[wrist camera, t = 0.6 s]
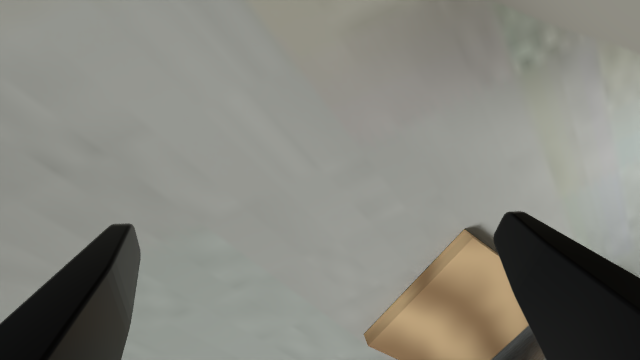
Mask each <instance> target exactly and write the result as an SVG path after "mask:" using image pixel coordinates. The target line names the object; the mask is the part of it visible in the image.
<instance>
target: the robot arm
mask: <svg viewBox="0 0 640 360" xmlns="http://www.w3.org/2000/svg"><path fill="white" fill-rule="evenodd" d="M494 244H495V247H496V249H497V252H498V255H499V257H500V260H501V263H502V265H503V268H504V270H505V273H506V276H507V278H508V281H509V284H510V286H511V289H512V291H513V294H514V296H515V298H516V300H517V302H518V304H519V306H520V308H521V310H522V312H523V314H524V316H525V318H526V320H527V322H528V324H529V326H530V328H531V330H532V332H533V334H534V336H535V338H536V340H537V342H538V344H539V346H540V348H541V350H542V352H543V354H544V356H545V359H546V360H640V278H638V277H637V276H635V275H633V274H631V273H630V272H628V271H626V270H624V269H623V268H621V267H619V266H617V265H616V264H614V263H612V262H611V261H609V260H607V259H605V258H604V257H602V256H600V255H598V254H597V253H595V252H593V251H591V250H590V249H588V248H586V247H584V246H583V245H581V244H579V243H577V242H576V241H574V240H572V239H570V238H569V237H567V236H565V235H563V234H562V233H560V232H558V231H556V230H555V229H553V228H551V227H549V226H548V225H546V224H544V223H542V222H541V221H539V220H537V219H535V218H534V217H532V216H530V215H528V214H527V213H525V212H521V211H516V212H507V213H506V214H504V216H503V218H502V220H501V222H500V224H499V226H498V228H497V230H496V231H495V234H494ZM139 265H140V248H139V244H138V240H137V236H136V232H135V228H134V226H133V225H132V224H113V225H111V226H109V227H108V228H107V229H106V230H104V231H103V232H102V233H101V234H100V235H99V236H98V237H97V238H96V239H94V240H93V241H92V242H91V243H90V244H89V245H88V246H87V247H85V248H84V249H83V250H82V251H81V252H80V253H79V254H78V255H77V256H75V257H74V258H73V259H72V260H71V261H70V262H69V263H68V264H66V265H65V266H64V267H63V268H62V269H61V270H60V271H59V272H57V273H56V274H55V275H54V276H53V277H52V278H51V279H50V280H49V281H47V282H46V283H45V284H44V285H43V286H42V287H41V288H40V289H38V290H37V291H36V292H35V293H34V294H33V295H32V296H31V297H30V298H28V299H27V300H26V301H25V302H24V303H23V304H22V305H21V306H19V307H18V308H17V309H16V310H15V311H14V312H13V313H12V314H11V315H9V316H8V317H7V318H6V319H5V320H4V321H3V322H2V323H0V360H121V358H122V354H123V350H124V347H125V343H126V340H127V336H128V332H129V328H130V324H131V318H132V312H133V305H134V298H135V292H136V285H137V278H138V272H139Z"/></svg>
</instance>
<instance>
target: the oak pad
mask: <svg viewBox="0 0 640 360" xmlns="http://www.w3.org/2000/svg"><path fill="white" fill-rule="evenodd" d="M528 325H529V324H528V322H527V320H526V318H525V316H524V314H523V312H522V310H521V308H520V306H519V304H518V302H517V300H516V298H515V296H514V294H513V291H512V289H511V286H510V284H509V281H508V278H507V276H506V273H505V270H504V268H503V265H502V263H501V260H500V257H499V255H498V253H496V252H495V251H494V250H492V249H491V248H490V247H488V246H487V245H486V244H484V243H483V242H481V241H480V240H479V239H477V238H476V237H475V236H473V235H472V234H471V233H469V232H468V231H467V230H465V229H464V230H463V231H462V232H461V233H460V234H459V235H458V236H457V238H456V239H455V240H454V241H453V242H452V243H451V244H450V245H449V246H448V247H447V248H446V249H445V250H444V251H443V252H442V253H441V254H440V255H439V256H438V257H437V258H436V259H435V260H434V262H433V263H432V264H431V265H430V266H429V267H428V268H427V269H426V270H425V271H424V272H423V273H422V274H421V275H420V276H419V277H418V278H417V279H416V280H415V281H414V282H413V283H412V284H411V286H410V287H409V288H408V289H407V290H406V291H405V292H404V293H403V294H402V295H401V296H400V297H399V298H398V299H397V300H396V301H395V302H394V303H393V304H392V305H391V306H390V307H389V308H388V310H387V311H386V312H385V313H384V314H383V315H382V316H381V317H380V318H379V319H378V320H377V321H376V322H375V323H374V324H373V325H372V326H371V327H370V328H369V329H368V330H367V331H366V333H365V334H364V336H365V339H366V341H367V344H368V346H370V347H372V348H374V349H376V350H378V351H381V352H383V353H385V354H387V355H389V356H391V357H394V358H396V359H398V360H491V359H492V358H493V357H495V356H496V355H497V354H498V353H499V352H500V351H501V350H502V349H503V348H504V347H505V346H507V345H508V344H509V343H510V342H511V341H512V340H513V339H514V338H515V337H516V336H517V335H519V334H520V333H521V332H522V331H523V330H524V329H525V328H526V327H527V326H528Z"/></svg>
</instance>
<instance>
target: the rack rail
mask: <svg viewBox="0 0 640 360" xmlns="http://www.w3.org/2000/svg"><path fill="white" fill-rule="evenodd" d="M492 360H546V359H545V356H544V354H543V352H542V350H541V348H540V346H539V344H538V342H537V340H536V338H535V336H534V334H533V332H532V330H531V328H530V326H528V327H527V328H526V329H525V330H523V331H522V332H521V333H520V334H519V335H518V336H517V337H516V338H515V339H514V340H513V341H511V342H510V343H509V344H508V345H507V346H506V347H505V348H504V349H503V350H502V351H501V352H499V353H498V354H497V355H496V356H495V357H494V358H493V359H492Z"/></svg>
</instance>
